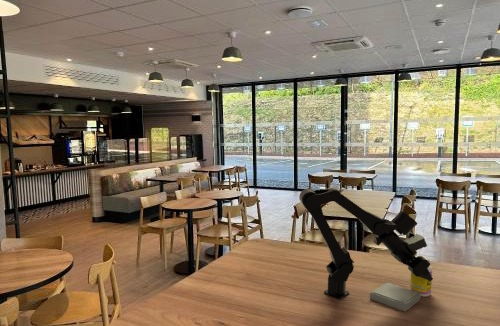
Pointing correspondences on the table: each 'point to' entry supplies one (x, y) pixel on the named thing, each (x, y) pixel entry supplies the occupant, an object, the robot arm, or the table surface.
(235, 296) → the table surface
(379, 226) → the robot arm
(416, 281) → the supplement bottle
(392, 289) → the slate base
